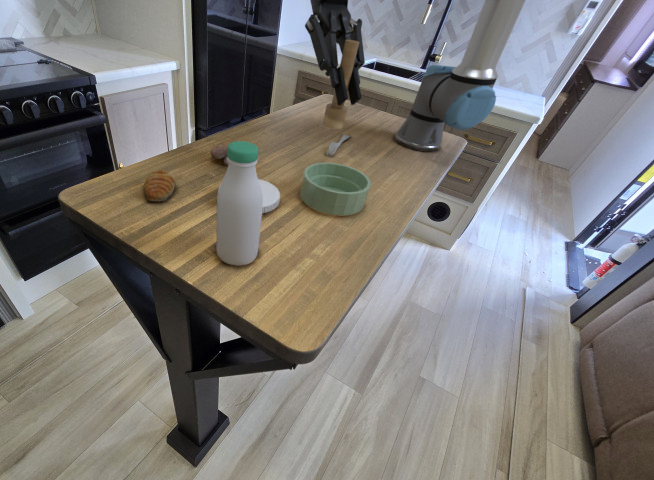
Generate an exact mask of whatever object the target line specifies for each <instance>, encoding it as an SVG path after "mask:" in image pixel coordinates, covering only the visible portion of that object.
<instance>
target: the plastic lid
mask: <svg viewBox="0 0 654 480" xmlns="http://www.w3.org/2000/svg"><path fill="white" fill-rule="evenodd" d="M258 181H259V183H260V186H261V189H262V195H263V206H262V215H263V214H266V213H269V212H272V211H273V210H275V209H276V208H277V207H278V206H279V205H280V202H281V201H280V199H281V192H280V190H279V188H278V187H277V186H275V185H274V184H272V183H271V182H268V181H266V180H263V179H260V178H258ZM218 191H219V189H218V190H217V192H218Z"/></svg>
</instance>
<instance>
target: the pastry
mask: <svg viewBox="0 0 654 480" xmlns="http://www.w3.org/2000/svg"><path fill="white" fill-rule="evenodd" d="M176 183H177V181H176V179H175V178H174V177H173V175H171V173H170V172H169V171H167V170H165V169H158V170H155V171H151V172H150V173H149V174H148V177H146V178H145V180H144V184H143V190H144V192H145V193H144V194H145V197H146V198H147V200H148V201H149V202H164V201H167V200H168V198H169V197H170V198H171V196H172V195H173V192H174V190H175V186H176Z"/></svg>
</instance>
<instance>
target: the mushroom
mask: <svg viewBox="0 0 654 480" xmlns="http://www.w3.org/2000/svg"><path fill="white" fill-rule="evenodd" d="M228 145H229V144H218V145H215V146H214V147H212V148H211V149H210V155H211V156H212V158H213V159H215V160H222V159H223V163H224V165H226V166H228V165H229V162H228V161H227V157H228V156H227V147H228Z"/></svg>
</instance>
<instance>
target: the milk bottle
mask: <svg viewBox="0 0 654 480" xmlns="http://www.w3.org/2000/svg"><path fill="white" fill-rule="evenodd" d="M227 145H228V147H227V156H228V157H227V161H228V162H229V165H227V169H226V172H225V175H224V177H223V178H222V180H221V183H220V185H219V187H218V190H219V191H218V190H217V197H216V254H217V257H218V258H219V259H220V260H221V261H222V262H224V263H225V264H227V265H231V266H246V265H249V264H251V263H252V262H254V261H255V259H256V258H257V257H258V254H259V253H258V252H259V244H260V238H261V237H260V236H261V227H262V218H263V217H262V216H263V214H262V206H263V195H262V189H261V186H260V183H259V181H258V179H259V177H258V174H257V169H256V165H257V164H258V162H259V161H258V157H259V147H258V146H257V145H256V144H254V143H252V142H249V141H245V140H236V141H232V142H229V144H227Z"/></svg>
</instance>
